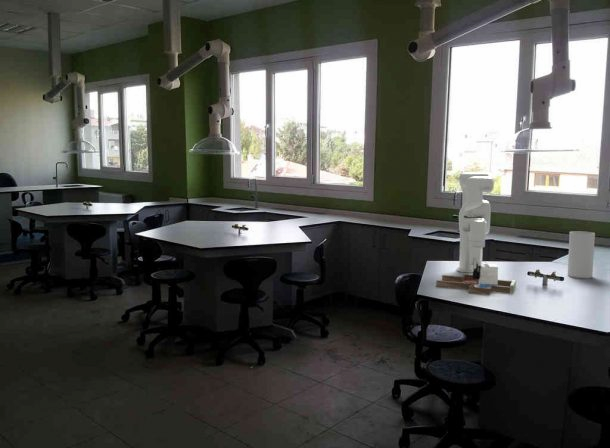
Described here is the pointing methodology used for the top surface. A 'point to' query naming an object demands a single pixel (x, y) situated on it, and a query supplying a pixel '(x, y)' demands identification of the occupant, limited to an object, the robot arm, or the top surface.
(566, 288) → the top surface
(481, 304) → the top surface
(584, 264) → the cylinder vase
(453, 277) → the trap lane
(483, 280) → the ink box
